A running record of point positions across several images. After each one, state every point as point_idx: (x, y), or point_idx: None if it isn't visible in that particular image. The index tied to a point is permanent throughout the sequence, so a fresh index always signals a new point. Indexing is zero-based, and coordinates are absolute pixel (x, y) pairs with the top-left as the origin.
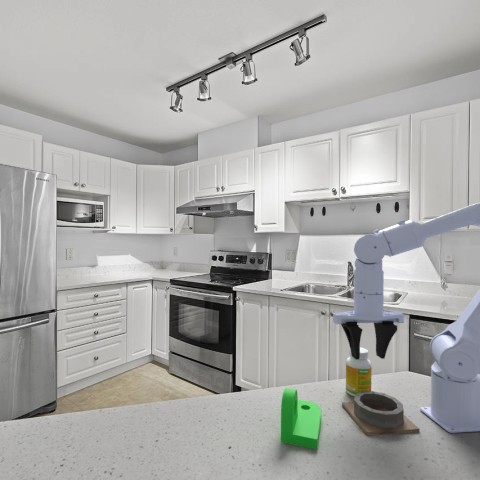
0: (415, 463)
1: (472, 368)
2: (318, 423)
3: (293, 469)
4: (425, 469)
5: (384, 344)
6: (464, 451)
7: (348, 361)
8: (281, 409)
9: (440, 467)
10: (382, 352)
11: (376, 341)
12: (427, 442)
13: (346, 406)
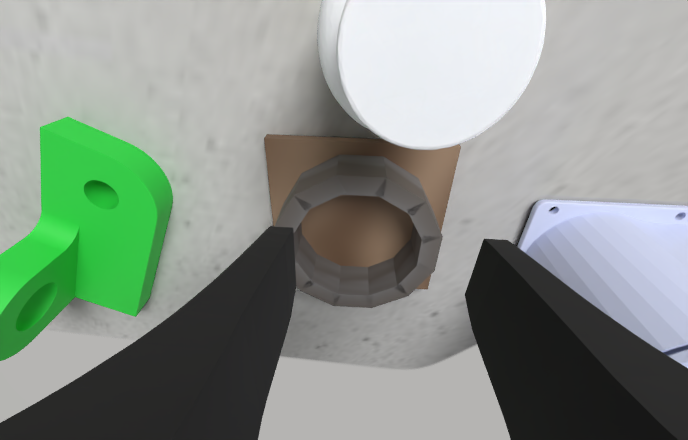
0: (336, 344)
1: None
2: (142, 271)
3: (101, 327)
4: (344, 355)
5: (507, 420)
6: (464, 336)
7: (321, 50)
8: None
9: (375, 355)
10: (477, 341)
11: (547, 317)
12: (412, 309)
13: (272, 164)
